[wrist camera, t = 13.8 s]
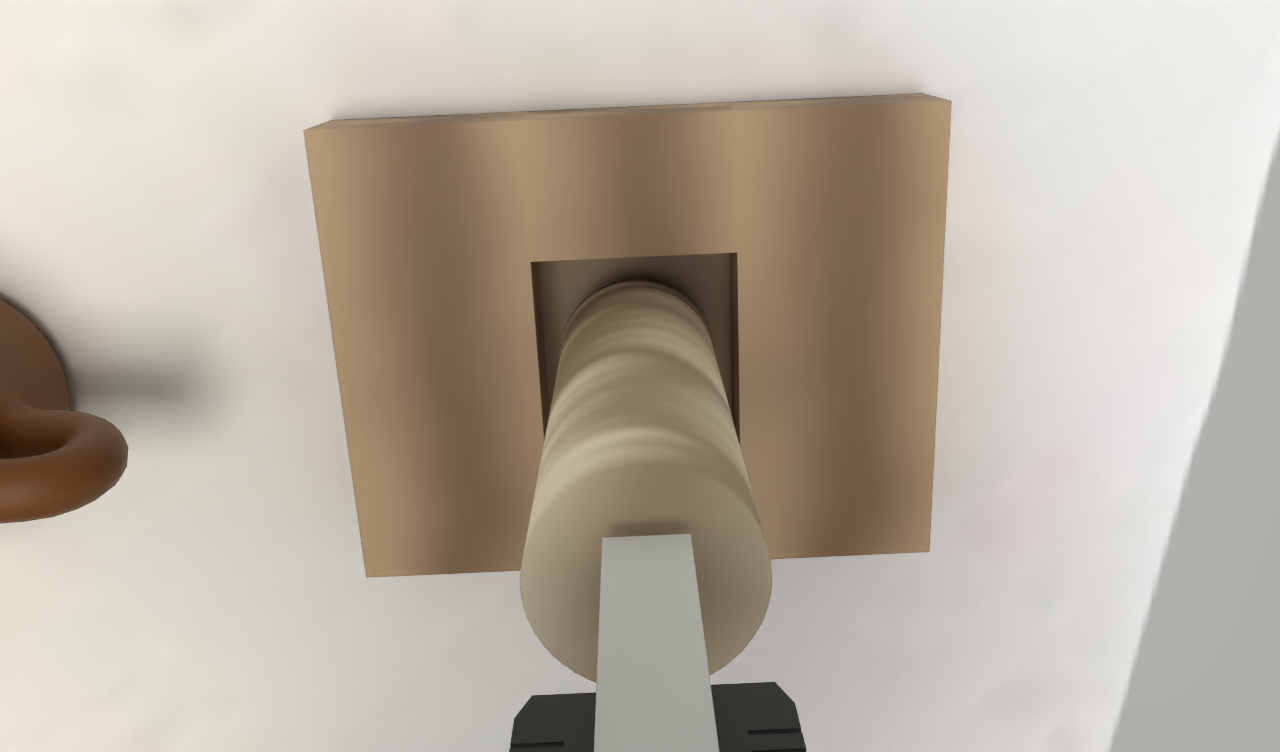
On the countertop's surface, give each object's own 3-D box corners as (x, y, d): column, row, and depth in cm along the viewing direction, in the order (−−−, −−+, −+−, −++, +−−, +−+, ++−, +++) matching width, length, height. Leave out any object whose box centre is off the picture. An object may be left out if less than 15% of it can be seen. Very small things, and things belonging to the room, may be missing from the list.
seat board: (385, 534, 37) (366, 577, 34) (331, 120, 32) (303, 130, 30) (905, 510, 37) (929, 551, 34) (922, 93, 33) (951, 100, 30)
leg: (569, 403, 35) (527, 698, 20) (559, 265, 34) (507, 471, 18) (709, 396, 35) (775, 687, 20) (705, 259, 34) (774, 459, 18)
